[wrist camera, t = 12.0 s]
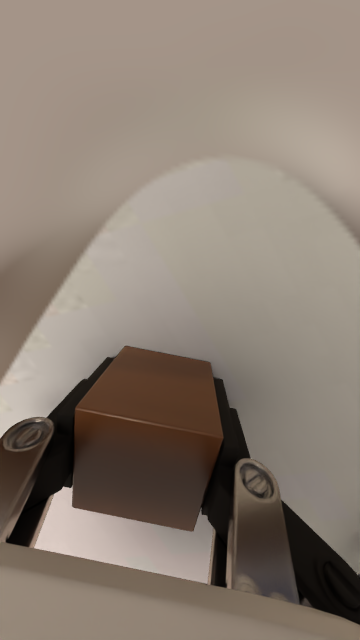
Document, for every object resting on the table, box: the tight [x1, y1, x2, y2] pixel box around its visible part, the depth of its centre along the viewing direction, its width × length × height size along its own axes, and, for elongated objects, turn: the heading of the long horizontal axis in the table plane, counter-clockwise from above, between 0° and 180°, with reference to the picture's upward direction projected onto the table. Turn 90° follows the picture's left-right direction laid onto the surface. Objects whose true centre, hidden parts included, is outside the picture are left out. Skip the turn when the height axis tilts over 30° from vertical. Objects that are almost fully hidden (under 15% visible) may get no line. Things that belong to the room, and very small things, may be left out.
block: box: [72, 346, 223, 531], centre depth 8 cm, size 4×4×4 cm
